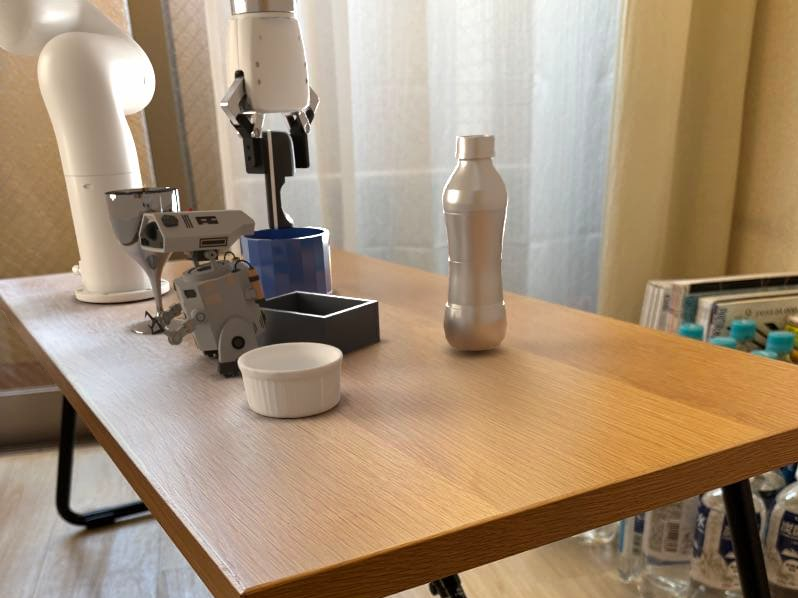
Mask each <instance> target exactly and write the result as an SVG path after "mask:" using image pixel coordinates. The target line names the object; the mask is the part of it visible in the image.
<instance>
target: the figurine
mask: <svg viewBox="0 0 798 598" xmlns="http://www.w3.org/2000/svg"><path fill="white" fill-rule="evenodd" d="M255 227H256V222H255V220H254V219H253V217H251V216H250V215H248V214H247V213H246V212H244V211H243V210H242V209H211V210H194V209H193V207H188V208H187V209H186V211H181V212H160V213H144V214H143V218H142V222H141V227H140V231H139V238H140V242H141V246H142V249H144V250H149V251H154V252H162V253H168V252H173V253H179V252H180V253H181V252H183V255H185V260H186V261H191V262H192V265H193V266H192V267H190V268H187V269H185V270H184V271H183V272H182V273H181V275H180V276H178V277H176V278H175V279H173V280H172V286H173V290H174V292H175V293H176V295H177V299H178V301H179V302H178V303H177V302H173V303H171V304H169V306H168V309H166V310H164V312H163V311H161V312H159V314H158V317H156V316H155V317H153V316H152V314H151V313H149V312H148V310H145V312H144V319H146V317H148V318H149V320H152V325H151V326H150V325H148V326H149V327H150V329H151V332H152V334H151V335H152V336H155V335H158V334H163V335H165V337H167V341H168V343H169V344H170V345H171V346H180V344H182V343H183V340H184V338H185V337H187V336H188V335H189V334H190V337H191V340H192V343H193V346H195V348H196V349H197V350H199V352H202V354H203V355H204V356H207V357H208V358H210V359H212V358H213V357H214V356H216V357H218V360H217V372H218V374H219V375H220V376H221V375H222V376H223V377H224V379H225V378H229V377H230V376H232V377H237V376H238V375H239V373H242V372H241V371H240V369H239V366H238V359H239V358H240V357H241V356H242V355H243V354H245V353H246V352H248V351H251V350H254V349H257V348H258V344H257V340H256V337H257V336H259V335H260V334H261V333H263V332H264V331H265V330H266V328H265V325H267V324H268V323H267V320H266V317H265V313H264V310H263V309H262V308H261V309H260V307H259V303H263V302H265V301H266V298H265V296H264V294H263V290H262V286H261V283H260V280H259V279H260V278H259V274H258V273H257V269H256V267H251V265H250V264H249V263H248V262H247V261H245V260H242V259H241V257H240V256H236V254H235V253H234V252H233V251H231V250H228V251H226V252H225V253H224V255H223V259H219V256H220V250H225V249H231V247H232V246H233V245H234V244H235V243H236V242H237V241H238V240H240V239H239V238H240V237H241V236H244V235H254V230H256V229H255ZM228 254H230V255H232V258H231V259H230V260H229V259H226V257H227V255H228ZM200 262H204V263H200ZM242 262H246V263H247V264H248V265H249V267H250V268H248V267H247V266H246V265H244V264H243V263H242ZM182 314H183V315H184V319H185V320H184V321H183V322H182V323H181V324H182V325H183V326H180V327H179V328H178V329H177V330H173V331H171V332H170V331H169V330H167V329H165V328H164V329H163V327H162V326H165V325H169V324H170V322H171V320H172V319H173V318H177V317H180V316H181V315H182ZM155 323H157V325H158V327H159V330H157V331H155V332H153V328H154V325H155ZM160 324H161V325H162V326H161V325H160ZM230 374H231V375H230Z"/></svg>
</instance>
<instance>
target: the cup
mask: <svg viewBox="0 0 798 598" xmlns="http://www.w3.org/2000/svg"><path fill="white" fill-rule="evenodd" d="M238 240H239V248H240V256H241V257H240V258H241V260H245V261H247V262H248V263H249V264H250V265H251V267H256V269H257V273H258V274H259V278H260V279H259V280H260V283H261V286H262V290H263V294H264V296H265V298H266V299H269V298H272V297H276V296H280V295H283V294H287V293H290V292H294V291H301V292H309V293H317V294H325V295H334V294H333V289H334V287H333V275H332V273H333V272H332V261H331V260H332V259H331V249H330V248H331V246H330V243H331V242H330V231H329V230H328V229H326V228H322V227H316V226H314V227H313V226H293V228H287V229H278V230H275V229H270V228H269V227H268V228H262V229H254V235H244V236H241V237H240V238H239V239H238ZM241 263H243V264H244V265H246V266H247V267H248V268H250V267H249V265H248V264H247V263H246V262H241Z"/></svg>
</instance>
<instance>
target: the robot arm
mask: <svg viewBox="0 0 798 598" xmlns="http://www.w3.org/2000/svg"><path fill="white" fill-rule="evenodd" d="M229 5H230V13H231V19H227V23H226V28H225V29H226V31H225V74H226V88H227V91H226V93H225V94H224V96H223V98H222V99H221V101H220V109H222V111H223V112H224V114H225V115H226V117H227V118H228V119H229V123H230V124H231V126H232V127H233V128H234V129H235V130H236V131H237V132H236V133H237V137H238V138H239V139H242V147H243V156H244V165H245V166H244V167H245V172H246V173H247V174H248V175H265V174H266V173H267V172H268V165H267V155H266V145H265V139H264V138H262V137H261V136H262V131H263V130H262V129H263V126H264V120H265V116H266V114H280V113H281V116H282V118H283V120H284V122H285V125H286V127H287V130H288V133H289V135H290V136H291V138H292V142H293V149H294V158H295V169H309V168H310V166H311V162H310V150H309V139H308V137H309V136H308V135H309V134H310V133H311V130H312V127H311V125H312V123H313V120H314V118H315V113H316V111H317V109H318V107H319V103H320V98H319V96H318V94H316V92H315V91H314V90H313V88H312V87H311V86H310V84H309V83H310V82H309V71H308V63H307V56H306V49H305V44H304V40H303V39H304V38H303V33H302V29H301V25H300V22H299V19H298V17H297V6H298V1H297V0H229ZM0 49H2V50H4V51H6V52H8V53H10V54H11V55H16V56H21V57H33V58H38V60H37V67H36V68H37V69H36V72H37V82H38V87H39V91H40V94H41V97H42V100H43V103H44V105H45V108H46V111H47V113H48V117H49V119H50V123H51V125H52V128H53V132H54V135H55V139H56V144H57V148H58V151H59V156H60V162H61V166H62V172H63V176H64V180H65V185H66V192H67V195H68V202H69V207H70V213H71V216H72V222H73V227H74V233H75V238H76V242H77V248H78V254H79V258H80V260H78V264H75V265H73V266H72V268H71V271H72V273H73V274H74V275H75V276H81V281H82V285H80V286H78V287H75V289H74V293H75V294H74V295H75V299H77V300H78V301H81V302H85V303H93V304H114V303H115V304H116V303H125V302H126V303H128V302H135V301H136V302H137V301H142V300H147V299H151V298H154V294H153V290H152V286H151V283H150V280H149V278H148V276H147V274H146V272H145V271H144V270H143V268H142V267H141V266H140V265H139V264H138V263H137V262H136V261H135V260H134V259H133V258H132V257H131V256H129V255H128V254H127V253H126V252H125V251H124V250H123V248H122V247H121V246H120V244H119V242H118V241H117V239H116V236H115V234H114V231H113V229H112V226H111V222H110V219H109V215H108V211H107V206H106V200H105V193H106V192H109V191H115V190H123V189H133V188H144V187H143V181H142V175H141V170H140V164H139V158H138V153H137V148H136V145H135V141H134V138H133V134H132V131H131V129H130V126H129V124H128V122H127V118H126V116H131V115H134V114H137V113H139V112H141V111H142V110H143V109H145V108H146V107H147V106H148V105H149V104H150V102H151V101H152V99H153V96H154V93H155V88H156V77H155V71H154V68H153V65H152V63H151V61H150V58H149V57H148V55H147V54H146V52H145V51H144V50H143V48H142V47H141V46H140V44H138V43H137V41H136V40H134V38H132V37H131V36H130V34H128V33H127V32H126V31H125V30H124V29H123V28H122V27H121V26H119V25H118V24H117V23H116V22H115V21H114V20H113V19H112V18H110V16H108V14H106V13H105V12H104V11H103V10H102V9H101V8H100V7H98V6H97V4H95V3H94V2H93V1H92V0H0ZM294 116H295V117H294ZM251 121H252V122H251ZM170 289H171V288H170V282H169V281H168V280H167V279H164V278H161V296H162V295H165V294H167V293H168V292H170Z"/></svg>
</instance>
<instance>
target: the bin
mask: <svg viewBox="0 0 798 598" xmlns="http://www.w3.org/2000/svg"><path fill="white" fill-rule="evenodd" d="M259 307H260V309H261V308H262V309H263V310H264V313H265V317H266V320H267V323H268V324H267V325H265V328H266V330H265V331H264V332H263V333H261V334H260V335H259V336H257V337H256V340H257V344H258V348H260V347H264V346H269V345H275V344H283V343H300V342H301V343H303V342H304V343H319V344H326V345H330V346H333V347H336V348H338V349H339V350H340V351H341V352H342V354H343V356H344V355H347V354H350V353H353V352H355V351H358V350H361V349H363V348H366V347H368V346H372V345H374V344H377V343H380V342H381V330H380V312H379V311H380V309H379V301H378V300H373V299H364V298H358V297H357V298H356V297H349V296H340V295H334V294H332V295H325V294H317V293H309V292H301V291H294V292H290V293H287V294H283V295H280V296H276V297H272V298H269V299H266V301H265V302H263V303H259Z"/></svg>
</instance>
